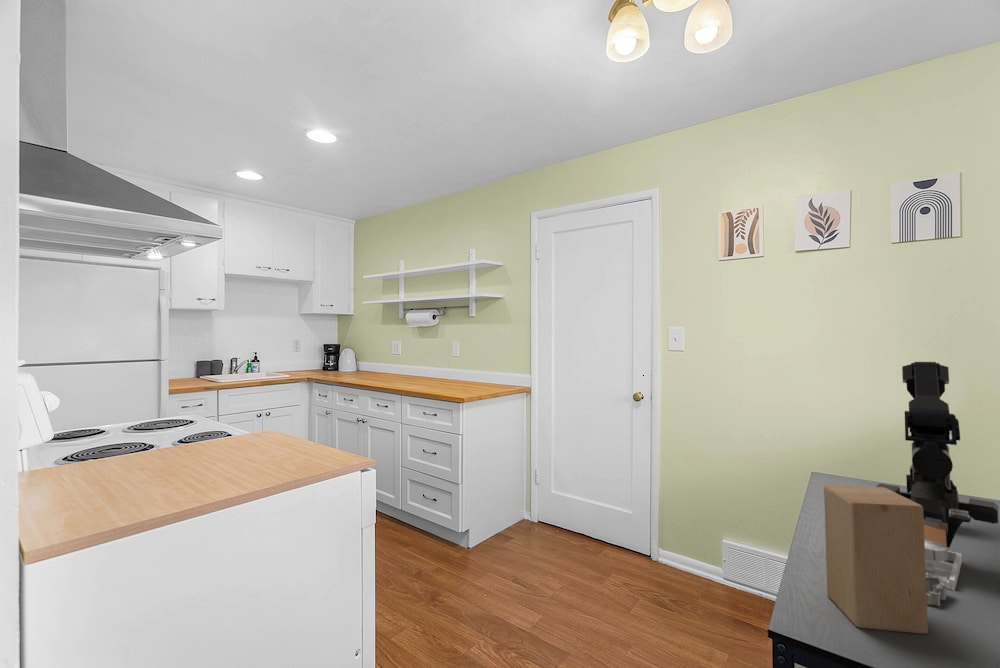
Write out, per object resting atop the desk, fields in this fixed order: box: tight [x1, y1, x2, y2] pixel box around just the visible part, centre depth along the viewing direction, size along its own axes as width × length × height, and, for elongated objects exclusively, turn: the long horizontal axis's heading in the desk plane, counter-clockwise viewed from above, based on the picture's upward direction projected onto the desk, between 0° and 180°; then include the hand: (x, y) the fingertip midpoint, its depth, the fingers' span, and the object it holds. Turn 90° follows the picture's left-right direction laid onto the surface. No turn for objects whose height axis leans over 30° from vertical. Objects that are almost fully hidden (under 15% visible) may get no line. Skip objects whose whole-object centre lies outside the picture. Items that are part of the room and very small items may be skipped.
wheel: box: [924, 540, 949, 562], centre depth 90 cm, size 5×5×2 cm
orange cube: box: [924, 517, 949, 551], centre depth 96 cm, size 5×4×6 cm
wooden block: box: [823, 484, 929, 635], centre depth 78 cm, size 10×10×20 cm
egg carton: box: [926, 573, 947, 607], centre depth 86 cm, size 11×8×4 cm
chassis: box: [925, 550, 963, 591], centre depth 93 cm, size 16×8×2 cm, turn 132°
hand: (933, 543), depth 96 cm, fingers closed on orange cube, 4 cm apart
